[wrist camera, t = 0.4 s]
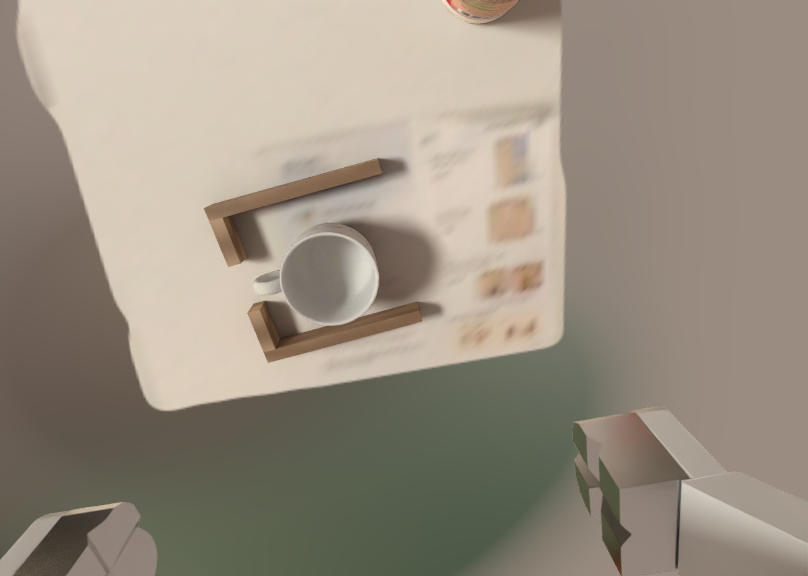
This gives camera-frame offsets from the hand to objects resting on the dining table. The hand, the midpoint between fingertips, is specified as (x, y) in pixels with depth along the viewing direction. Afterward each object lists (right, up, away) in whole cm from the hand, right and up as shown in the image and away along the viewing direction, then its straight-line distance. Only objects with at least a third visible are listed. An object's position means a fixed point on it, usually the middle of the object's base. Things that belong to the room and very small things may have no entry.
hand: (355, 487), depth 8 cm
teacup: (-9, +7, +48) cm, 49 cm away
